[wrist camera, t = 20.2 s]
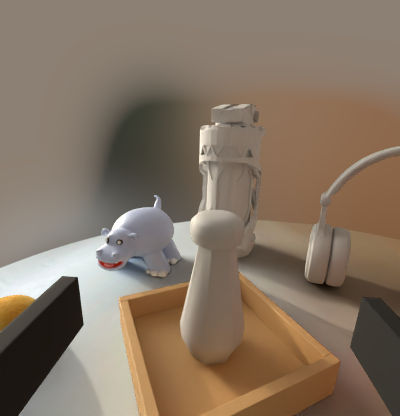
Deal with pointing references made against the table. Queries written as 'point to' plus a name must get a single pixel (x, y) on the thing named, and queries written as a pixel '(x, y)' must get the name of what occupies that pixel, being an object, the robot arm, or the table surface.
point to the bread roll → (12, 308)
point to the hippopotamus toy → (140, 241)
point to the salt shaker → (214, 288)
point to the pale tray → (223, 372)
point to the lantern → (232, 166)
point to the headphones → (335, 231)
